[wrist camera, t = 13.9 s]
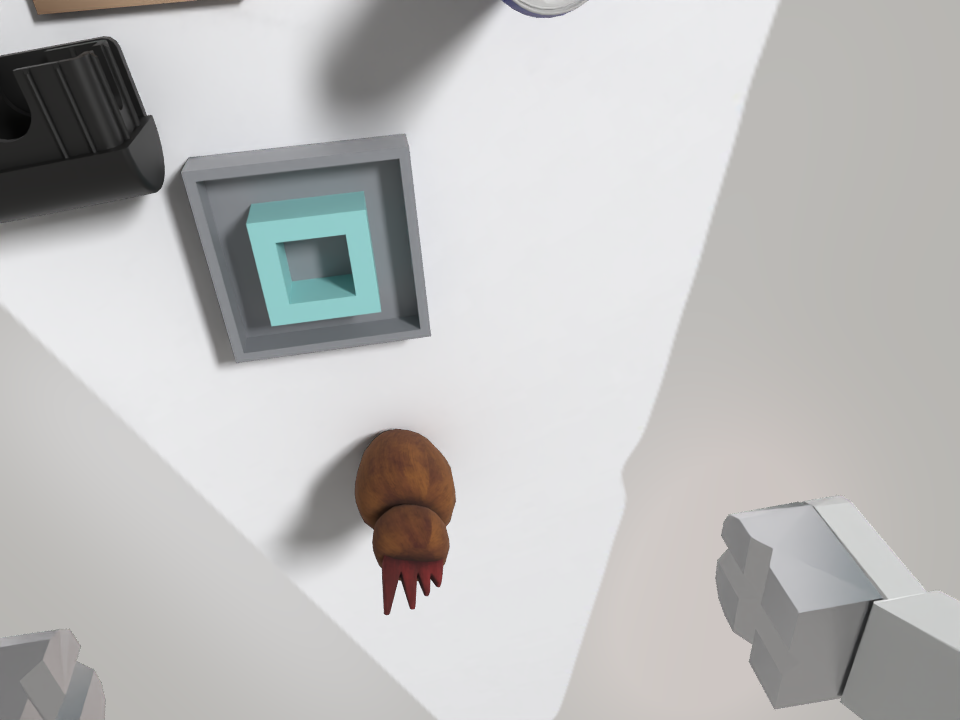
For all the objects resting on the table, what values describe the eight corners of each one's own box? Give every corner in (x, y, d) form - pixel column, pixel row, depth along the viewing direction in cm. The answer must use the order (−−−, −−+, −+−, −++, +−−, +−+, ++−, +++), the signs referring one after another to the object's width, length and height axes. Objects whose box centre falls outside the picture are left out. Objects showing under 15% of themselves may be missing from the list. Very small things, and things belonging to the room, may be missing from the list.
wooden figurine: (340, 459, 55) (341, 629, 43) (382, 403, 53) (396, 565, 41) (417, 491, 58) (439, 659, 46) (459, 440, 56) (494, 601, 44)
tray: (188, 157, 42) (180, 172, 40) (405, 133, 43) (408, 146, 41) (240, 342, 49) (236, 362, 47) (427, 317, 50) (431, 336, 48)
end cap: (-3, 201, 42) (-56, 251, 36) (-74, 68, 38) (-146, 102, 32) (176, 165, 42) (152, 210, 37) (125, 32, 38) (89, 58, 33)
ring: (251, 204, 43) (246, 223, 41) (363, 190, 44) (365, 209, 41) (274, 302, 47) (271, 326, 44) (378, 289, 48) (381, 311, 45)
